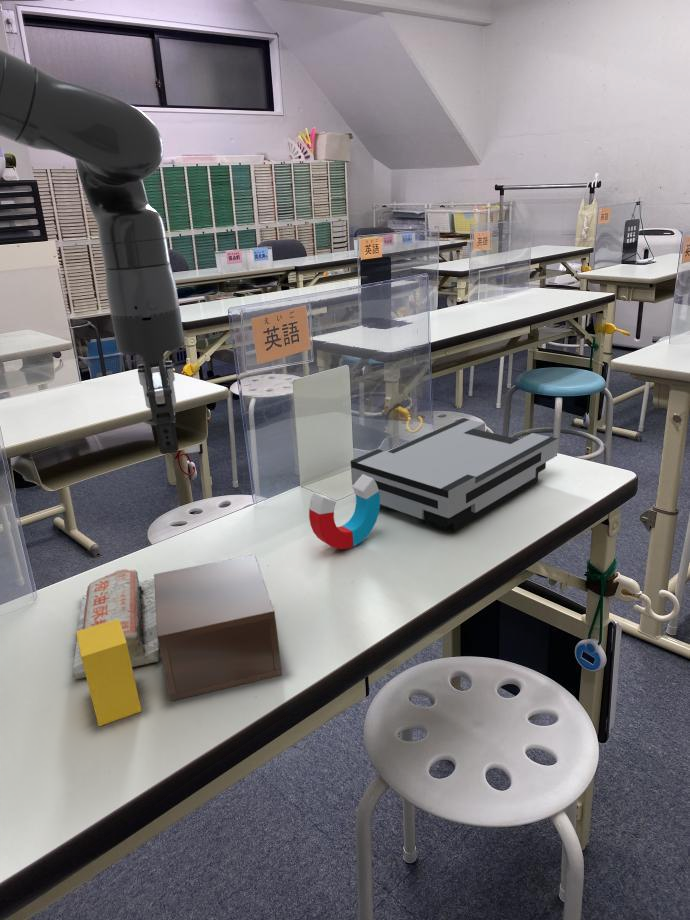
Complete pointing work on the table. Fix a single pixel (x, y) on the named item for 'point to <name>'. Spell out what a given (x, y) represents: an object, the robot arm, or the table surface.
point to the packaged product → (122, 615)
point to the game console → (455, 472)
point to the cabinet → (215, 627)
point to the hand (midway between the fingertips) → (169, 451)
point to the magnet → (359, 522)
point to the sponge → (108, 671)
